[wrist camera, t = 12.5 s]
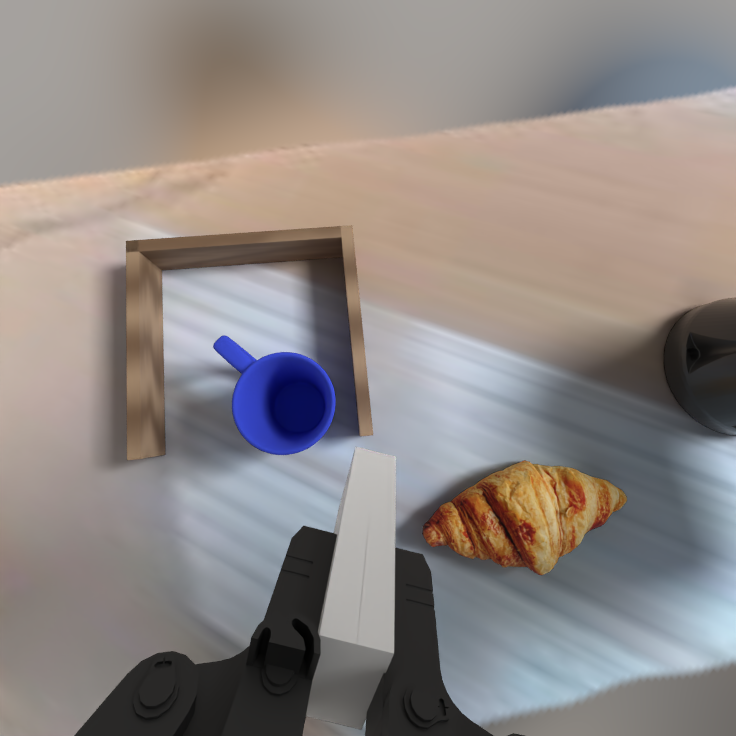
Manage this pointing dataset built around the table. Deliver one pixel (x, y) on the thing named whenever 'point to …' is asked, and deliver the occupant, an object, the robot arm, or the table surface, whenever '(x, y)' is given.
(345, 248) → the box
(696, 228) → the table surface
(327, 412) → the mug
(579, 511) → the croissant
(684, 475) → the table surface
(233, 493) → the table surface
